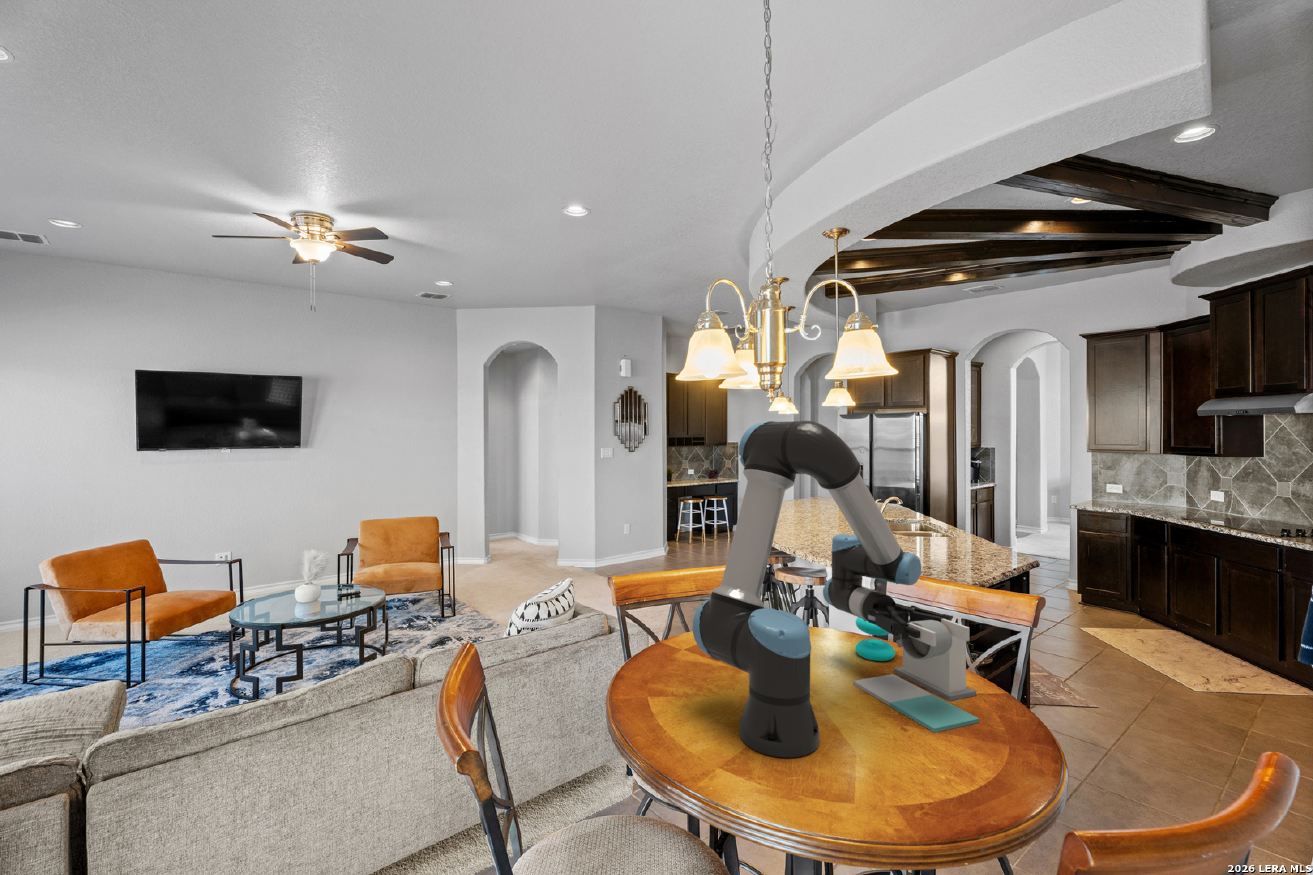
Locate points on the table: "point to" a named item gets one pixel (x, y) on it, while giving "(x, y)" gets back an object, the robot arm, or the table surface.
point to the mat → (916, 703)
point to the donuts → (873, 643)
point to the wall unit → (940, 672)
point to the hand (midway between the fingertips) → (951, 636)
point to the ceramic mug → (922, 649)
